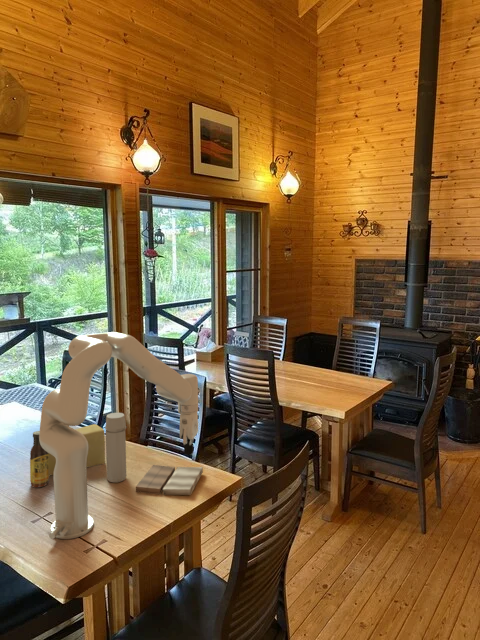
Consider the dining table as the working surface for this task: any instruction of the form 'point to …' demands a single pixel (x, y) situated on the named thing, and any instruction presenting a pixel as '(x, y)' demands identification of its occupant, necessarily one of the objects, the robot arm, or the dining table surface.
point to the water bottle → (116, 447)
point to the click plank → (183, 481)
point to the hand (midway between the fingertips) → (188, 453)
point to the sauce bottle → (38, 463)
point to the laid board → (155, 479)
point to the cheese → (95, 447)
